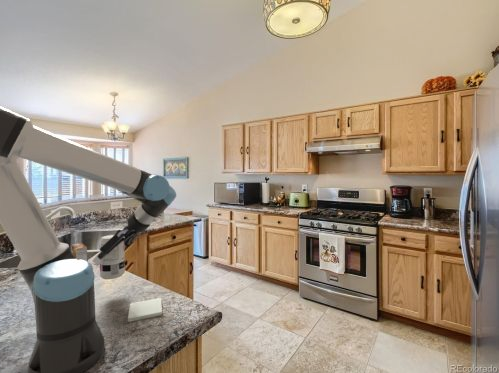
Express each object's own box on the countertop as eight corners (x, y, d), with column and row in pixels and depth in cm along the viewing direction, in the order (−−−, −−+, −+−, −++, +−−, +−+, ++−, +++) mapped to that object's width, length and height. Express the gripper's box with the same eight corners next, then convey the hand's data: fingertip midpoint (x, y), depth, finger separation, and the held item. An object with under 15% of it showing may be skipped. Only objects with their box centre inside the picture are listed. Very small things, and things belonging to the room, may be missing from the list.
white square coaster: (162, 314, 81) (162, 311, 80) (127, 321, 77) (127, 318, 77) (161, 300, 90) (161, 297, 90) (130, 306, 86) (130, 303, 86)
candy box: (73, 278, 111) (71, 244, 110) (84, 275, 114) (83, 242, 113) (77, 284, 104) (75, 248, 104) (89, 281, 107) (87, 246, 107)
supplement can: (95, 277, 93) (94, 237, 92) (116, 270, 100) (115, 233, 100) (108, 281, 89) (108, 240, 89) (129, 273, 96) (128, 235, 96)
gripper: (131, 231, 81) (89, 277, 84) (163, 220, 102) (128, 257, 105) (116, 215, 82) (74, 260, 85) (151, 207, 103) (116, 244, 106)
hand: (104, 259), depth 95 cm, fingers closed on supplement can, 8 cm apart
